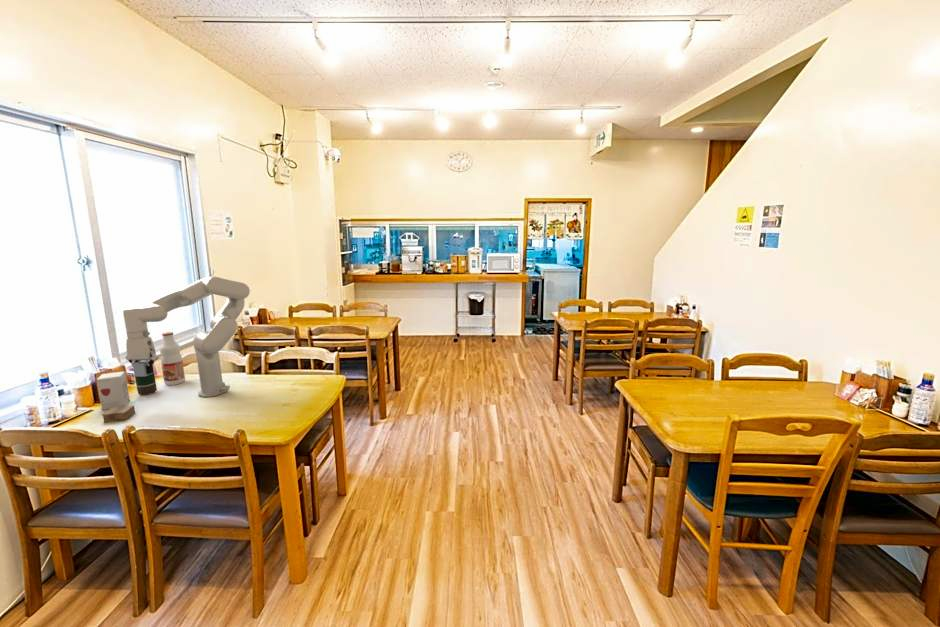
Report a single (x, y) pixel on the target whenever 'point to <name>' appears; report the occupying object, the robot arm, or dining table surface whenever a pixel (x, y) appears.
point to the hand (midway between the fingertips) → (144, 373)
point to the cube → (140, 368)
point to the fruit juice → (171, 360)
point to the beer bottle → (146, 384)
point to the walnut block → (119, 414)
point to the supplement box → (113, 390)
